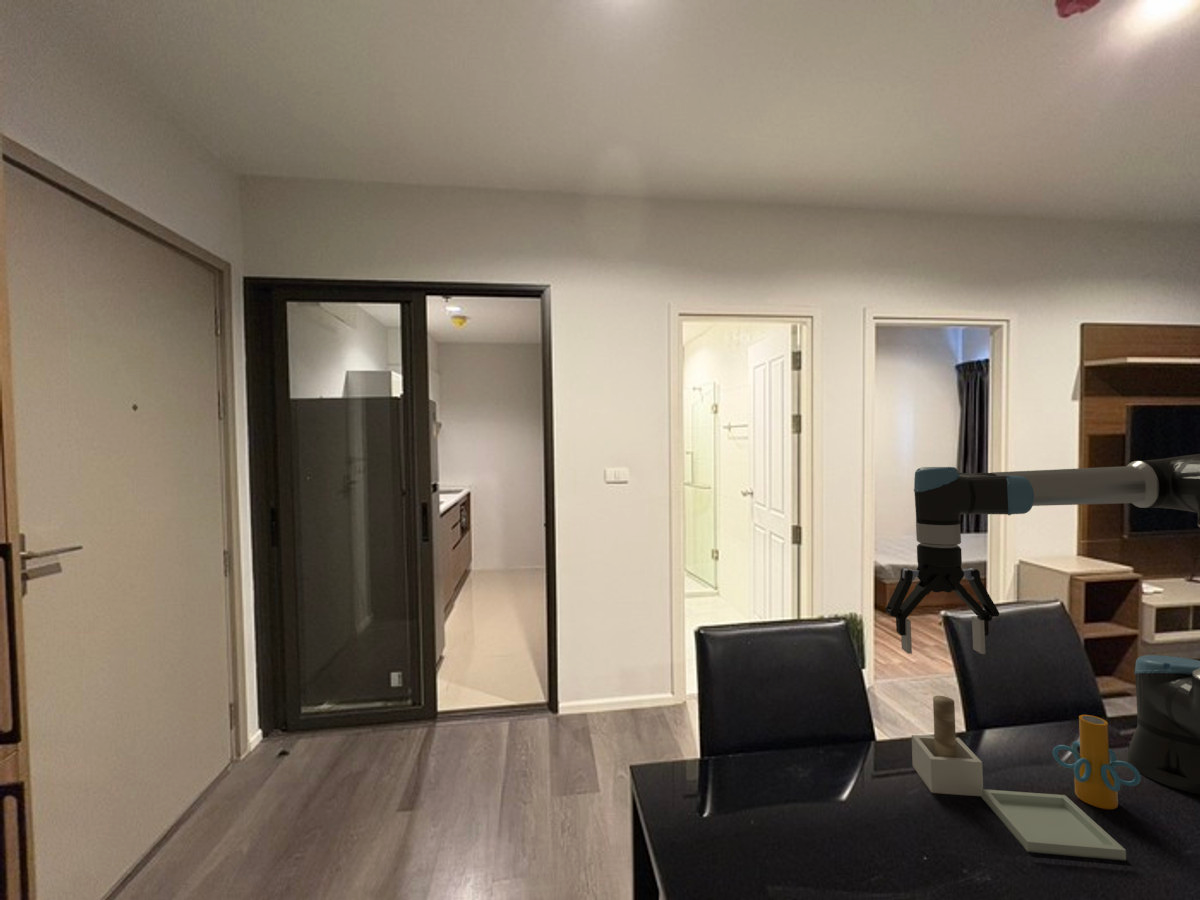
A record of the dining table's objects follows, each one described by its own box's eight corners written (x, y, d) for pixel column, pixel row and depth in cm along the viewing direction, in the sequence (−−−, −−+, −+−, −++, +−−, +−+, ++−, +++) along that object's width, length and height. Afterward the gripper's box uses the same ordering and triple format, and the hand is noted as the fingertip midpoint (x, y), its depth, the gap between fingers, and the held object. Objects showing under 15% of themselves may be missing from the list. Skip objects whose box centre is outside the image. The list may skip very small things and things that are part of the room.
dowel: (951, 775, 108) (949, 696, 109) (960, 786, 105) (957, 704, 105) (932, 774, 109) (929, 695, 109) (940, 785, 105) (937, 703, 106)
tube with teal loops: (1155, 825, 94) (1152, 739, 94) (1086, 818, 96) (1083, 734, 96) (1105, 783, 106) (1102, 706, 106) (1044, 778, 108) (1042, 703, 108)
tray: (1065, 807, 99) (1065, 795, 99) (1126, 864, 85) (1125, 850, 85) (981, 800, 101) (981, 789, 101) (1028, 855, 88) (1027, 841, 88)
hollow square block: (959, 771, 111) (958, 737, 111) (983, 799, 102) (982, 762, 102) (912, 768, 112) (911, 735, 112) (931, 795, 103) (930, 759, 103)
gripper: (993, 540, 109) (997, 645, 109) (865, 542, 112) (869, 644, 111) (1018, 546, 102) (1023, 658, 101) (880, 548, 104) (885, 657, 104)
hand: (942, 651), depth 106 cm, fingers open, 13 cm apart
